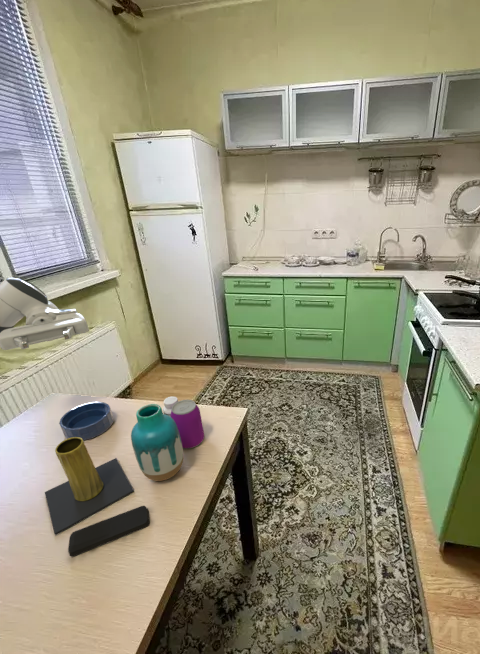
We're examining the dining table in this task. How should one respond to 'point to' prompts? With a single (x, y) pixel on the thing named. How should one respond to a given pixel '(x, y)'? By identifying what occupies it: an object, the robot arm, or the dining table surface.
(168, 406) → the pill bottle
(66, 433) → the bowl
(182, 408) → the beverage can
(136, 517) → the remote control
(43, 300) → the robot arm
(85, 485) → the vase
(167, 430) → the vase
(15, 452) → the dining table surface
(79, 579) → the dining table surface
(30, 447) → the dining table surface
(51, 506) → the mat
